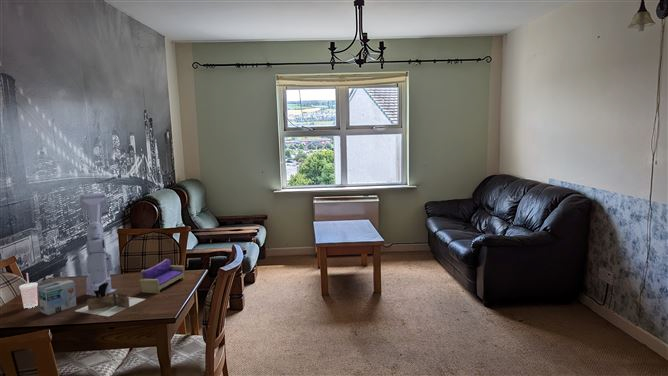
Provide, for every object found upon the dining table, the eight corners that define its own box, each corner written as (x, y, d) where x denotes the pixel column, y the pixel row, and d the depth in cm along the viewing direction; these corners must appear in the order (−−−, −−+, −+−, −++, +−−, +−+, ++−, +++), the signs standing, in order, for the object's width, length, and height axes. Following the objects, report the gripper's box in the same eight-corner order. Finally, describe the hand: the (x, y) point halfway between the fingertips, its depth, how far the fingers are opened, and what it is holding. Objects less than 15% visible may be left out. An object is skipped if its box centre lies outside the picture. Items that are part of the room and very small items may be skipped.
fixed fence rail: (117, 306, 166) (115, 293, 166) (119, 305, 167) (118, 292, 167) (127, 308, 164) (125, 294, 164) (129, 306, 166) (128, 293, 165)
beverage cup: (18, 310, 167) (14, 276, 165) (26, 304, 173) (22, 271, 171) (35, 308, 168) (31, 274, 166) (42, 302, 174) (39, 270, 172)
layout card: (74, 312, 163) (74, 310, 163) (113, 295, 180) (113, 294, 180) (108, 317, 157) (108, 316, 157) (145, 300, 173) (145, 298, 173)
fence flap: (117, 304, 168) (116, 291, 167) (117, 305, 167) (116, 292, 166) (88, 308, 164) (87, 295, 163) (88, 309, 163) (86, 296, 162)
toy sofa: (158, 295, 179) (156, 272, 178) (140, 294, 181) (138, 271, 180) (185, 279, 200) (184, 258, 198) (169, 278, 202) (168, 257, 200)
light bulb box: (48, 316, 160) (45, 289, 159) (40, 312, 163) (37, 286, 162) (77, 306, 169) (75, 280, 168) (69, 303, 172) (66, 278, 171)
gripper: (105, 273, 159) (108, 307, 160) (113, 262, 172) (116, 294, 174) (84, 275, 157) (87, 310, 158) (94, 264, 170) (97, 296, 172)
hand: (101, 302), depth 166 cm, fingers closed, pressing on fence flap
